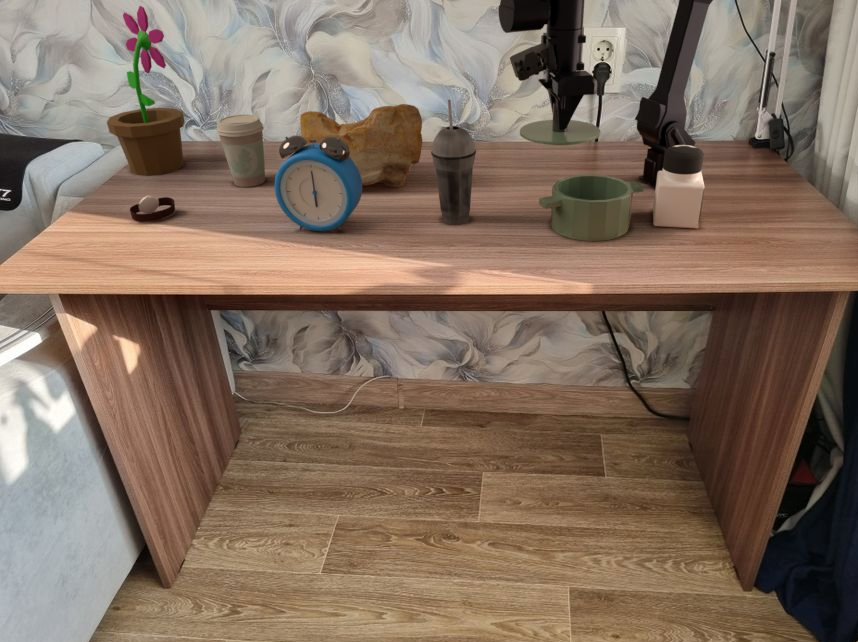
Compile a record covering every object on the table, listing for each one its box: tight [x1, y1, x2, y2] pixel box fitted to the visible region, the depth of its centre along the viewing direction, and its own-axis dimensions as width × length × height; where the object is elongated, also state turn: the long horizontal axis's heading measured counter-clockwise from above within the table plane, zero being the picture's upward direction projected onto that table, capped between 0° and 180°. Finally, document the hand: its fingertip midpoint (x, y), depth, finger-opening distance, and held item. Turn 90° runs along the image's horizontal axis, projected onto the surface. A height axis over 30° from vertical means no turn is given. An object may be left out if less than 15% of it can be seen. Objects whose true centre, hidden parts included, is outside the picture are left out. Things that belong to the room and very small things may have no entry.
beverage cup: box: [430, 99, 477, 226], centre depth 118 cm, size 7×7×20 cm
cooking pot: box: [538, 174, 644, 242], centre depth 118 cm, size 13×18×6 cm
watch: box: [129, 194, 176, 223], centre depth 126 cm, size 8×5×4 cm, turn 135°
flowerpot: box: [106, 5, 186, 176], centre depth 143 cm, size 14×14×30 cm
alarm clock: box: [274, 135, 363, 233], centre depth 118 cm, size 13×6×15 cm, turn 81°
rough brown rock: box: [299, 103, 423, 188], centre depth 138 cm, size 23×17×15 cm
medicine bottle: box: [652, 145, 706, 229], centre depth 118 cm, size 7×7×12 cm
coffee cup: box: [216, 113, 266, 188], centre depth 139 cm, size 8×8×12 cm
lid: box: [519, 102, 601, 146], centre depth 123 cm, size 14×14×6 cm
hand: (560, 127), depth 123 cm, fingers closed on lid, 2 cm apart
